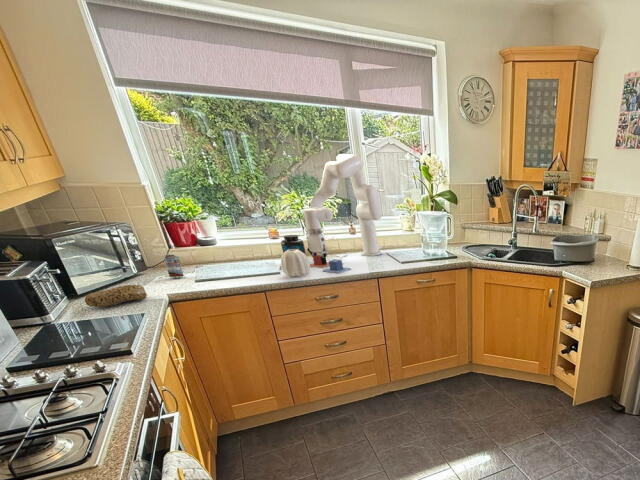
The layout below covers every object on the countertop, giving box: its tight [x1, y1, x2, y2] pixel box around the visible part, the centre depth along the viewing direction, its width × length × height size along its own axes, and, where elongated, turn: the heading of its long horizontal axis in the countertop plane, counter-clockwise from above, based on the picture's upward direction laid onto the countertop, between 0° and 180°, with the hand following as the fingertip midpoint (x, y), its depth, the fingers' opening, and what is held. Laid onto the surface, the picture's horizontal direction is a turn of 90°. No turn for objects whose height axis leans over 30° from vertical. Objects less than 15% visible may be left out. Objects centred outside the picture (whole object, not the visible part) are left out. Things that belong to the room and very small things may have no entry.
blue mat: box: [322, 266, 352, 274], centre depth 236 cm, size 11×11×1 cm
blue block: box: [328, 258, 344, 271], centre depth 235 cm, size 5×5×5 cm
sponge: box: [84, 284, 148, 308], centre depth 177 cm, size 13×8×20 cm
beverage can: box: [163, 253, 185, 279], centre depth 213 cm, size 6×7×12 cm
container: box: [280, 234, 307, 256], centre depth 243 cm, size 12×12×16 cm
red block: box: [312, 253, 327, 265], centre depth 245 cm, size 5×5×5 cm
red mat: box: [309, 261, 330, 269], centre depth 247 cm, size 11×11×1 cm
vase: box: [280, 249, 311, 277], centre depth 222 cm, size 14×14×13 cm
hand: (320, 263), depth 246 cm, fingers closed on red block, 5 cm apart
